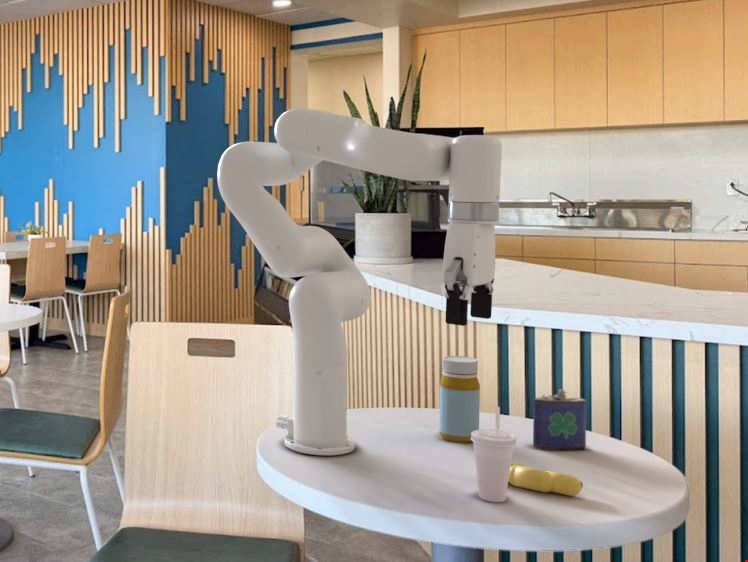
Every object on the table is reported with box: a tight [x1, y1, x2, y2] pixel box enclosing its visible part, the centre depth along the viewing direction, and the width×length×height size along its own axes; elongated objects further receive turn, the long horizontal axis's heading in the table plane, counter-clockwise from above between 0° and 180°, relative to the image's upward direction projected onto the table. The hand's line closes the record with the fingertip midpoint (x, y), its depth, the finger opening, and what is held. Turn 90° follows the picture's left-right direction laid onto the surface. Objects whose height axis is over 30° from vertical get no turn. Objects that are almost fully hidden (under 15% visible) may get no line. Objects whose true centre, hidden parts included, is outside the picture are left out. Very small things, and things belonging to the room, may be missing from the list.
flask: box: [532, 388, 587, 451], centre depth 157 cm, size 9×3×11 cm, turn 88°
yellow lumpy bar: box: [508, 462, 584, 497], centre depth 136 cm, size 14×4×3 cm, turn 48°
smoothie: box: [471, 406, 517, 503], centre depth 131 cm, size 6×6×14 cm
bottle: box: [438, 355, 481, 444], centre depth 163 cm, size 7×7×15 cm
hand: (468, 320), depth 138 cm, fingers open, 9 cm apart
